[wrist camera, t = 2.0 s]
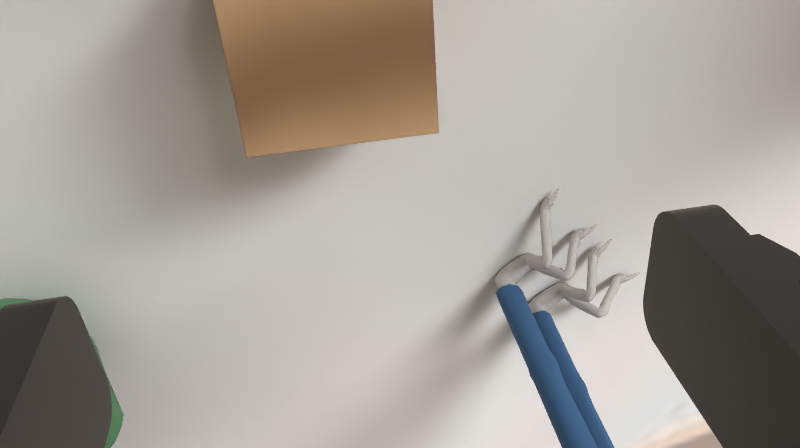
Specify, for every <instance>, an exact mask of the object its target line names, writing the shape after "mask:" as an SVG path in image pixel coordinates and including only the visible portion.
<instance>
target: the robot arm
mask: <svg viewBox="0 0 800 448" xmlns="http://www.w3.org/2000/svg"><path fill="white" fill-rule="evenodd" d="M643 309H644V317H645V321H646V325H647V328H648V331H649V334H650V336H651V338H652V340H653V342H654V343H655V345H656V346H657V348H658V349H659V351H660V353H661V354H662V356H663V357H664V359H665V360H666V362H667V363H668V365H669V366H670V368H671V369H672V371H673V372H674V374H675V375H676V377H677V378H678V380H679V381H680V383H681V384H682V386H683V387H684V389H685V390H686V392H687V393H688V395H689V397H690V398H691V400H692V401H693V403H694V404H695V406H696V407H697V409H698V410H699V412H700V413H701V415H702V416H703V418H704V419H705V421H706V422H707V424H708V425H709V427H710V428H711V430H712V431H713V433H714V434H715V436H716V437H717V439H718V441H719V442H720V443H721V445H722V447H723V448H800V256H799V255H798V254H797V253H795V252H793V251H791V250H789V249H787V248H785V247H783V246H781V245H779V244H777V243H775V242H774V241H772V240H770V239H768V238H766V237H764V236H762V235H760V234H756V235H750V234H749V233H748V232H747V231H746V230H745V229H744V228H743V227H742V226H741V225H740V224H739V223H738V222H736V221H735V220H734V219H733V218H732V217H731V216H730V215H729V214H728V213H727V212H726V211H725V210H724V209H723V208H722V207H720V206H718V205H708V206H701V207H694V208H687V209H680V210H673V211H666V212H662V213H660V214H659V215H658V216H657V218H656V220H655V223H654V228H653V234H652V241H651V248H650V255H649V262H648V269H647V276H646V283H645V290H644V298H643ZM111 417H112V401H111V392H110V387H109V383H108V380H107V377H106V375H105V372H104V370H103V367H102V365H101V363H100V360H99V358H98V355H97V353H96V351H95V348H94V346H93V343H92V341H91V339H90V336H89V334H88V331H87V329H86V327H85V324H84V322H83V319H82V317H81V315H80V312H79V310H78V308H77V306H76V304H75V303H74V301H73V300H72V299H71V298H69V297H67V296H64V297H57V298H50V299H43V300H36V301H29V302H22V303H15V304H8V305H5V306H4V307H3V308H2V309H1V310H0V448H105V444H106V440H107V436H108V433H109V429H110V424H111Z"/></svg>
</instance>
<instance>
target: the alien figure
mask: <svg viewBox="0 0 800 448" xmlns="http://www.w3.org/2000/svg"><path fill="white" fill-rule="evenodd" d="M558 191H559V188H558V189H557V190H556V192H555V193H554V194H553V196H552V197H551V198H550V199H547V198H546V199H545V200H544V201H543V202H542V204H541V206H540V225H541V240H542V253H543V257H542V256H535V255H533V254H531V253H525V254H523V255H521V256H520V257H518V258H516V259H515V260H513V261H512V262H510V263H509V264H507V265H506V266H504V267H503V268H502V269H501V270H500V271H499V273H498V274H497V275H496V277H495V278H494V281H495V283H496V285H497V287H498V291H497V292H496V295H497V297H498V300H499V303H500V305H501V307H502V309H503V312H504V314H505V316H506V319H507V321H508V323H509V325H510V328H511V330H512V332H513V335H514V337H515V339H516V341H517V344H518V346H519V348H520V351H521V353H522V355H523V358H524V360H525V362H526V365H527V367H528V369H529V373H530V376H531V378H532V379H533V381H534V383H535V386H536V388H537V390H538V393H539V395H540V397H541V400H542V402H543V404H544V407H545V409H546V411H547V414H548V416H549V418H550V421H551V423H552V425H553V428H554V430H555V432H556V435H557V437H558V439H559V442H560V444H561V446H562V448H614V446H613V444H612V442H611V440H610V438H609V436H608V434H607V432H606V430H605V428H604V426H603V424H602V422H601V420H600V418H599V416H598V414H597V412H596V410H595V408H594V406H593V403H592V401H591V399H590V396H589V394H588V391H587V388H586V385H585V383H584V381H583V380H582V379H581V377H580V375H579V373H578V372H577V370H576V368H575V366H574V364H573V362H572V360H571V357H570V355H569V353H568V351H567V349H566V347H565V345H564V343H563V340H562V338H561V336H560V334H559V332H558V330H557V328H556V326H555V324H554V322H553V319H552V317H551V315H550V314H549V313H548V312H547V311H548V310H549V309H550V308H551V307H553V306H554V305H555V304H556V303H558V302H559V301H560V300H561V299H563V298H565V299H566V300H567V301H569V302H570V303H571V304H572V305H573V306H575V307H577V308H579V309H581V310H583V311H584V312H586V313H588V314H591V315H593V316H595V317H597V318H600V317H603V316H605V315H606V314H608V311H609V307H610V303H611V301H612V299H613V297H614V296H615V294H616V292H617V290H618V289H619V286H620V284H621V283H623V282H626V281H628V280H630V279H632V278H633V277H635V276H637V275H638V274H640V272H639V273H636V274H634V275H631V276H628V277H627V276H626V275H625V274H623V273H620V274H617V275H616V276H614V277H613V279H612V281H611V284H610V286H609V288H608V290H607V292H606V294H605V296H604V298H603V300H602V302H601V304H600V307H599V309H598V308H597V307H595V306H594V305H592V304H589V303H587V302H590V301H591V300H592V299H593V298H594V296H595V294H596V273H597V263H598V257H599V256H600V255H601V253H602V252H603V251H604V250H605V249H606V247H607V246H608V244H609V243H610V241H611V240H612V239H610V240H609V241H608V242H607V243H605V244H604V245H603V246H602V247H601V248H599V247H595V248H593V249H592V250H591V252H590V253H589V254H588V275H587V290H586V291H585V290H583V289H577V288H574V287H571V286H569V285H568V284H566V283H563V282H559V283H557V284H555V285H553V286H551V287H549V288H547V289H546V290H544V291H543V292H541V293H540V294H539V295H537V296H536V297H535V298H533V299H532V301H531V302H530V303H529V305H528V303H527V300H526V298H525V296H524V294H523V292H522V290H521V289H520V288H519V286H516V284H517V283H518V282H519V281H520V280H521V279H522V278H523V277H524V276H525V275H526V274H527V273H528V272H529V271H531V270H536V271H539V272H541V273H543V274H546V275H549V276H552V277H555V278H558V279H561V280H565V281H566V280H569V279H570V278H572V277H573V275H574V274H575V268H576V253H577V248H578V246H579V241H580V240H581V239H582V238H583V237H585V236H586V235H587V234H589V233H590V232H591V231H592V230H593V229H594V228H595V227H596V226H597V224H596V225H594V226H593V227H591V228H590V229H588V230H587V231H583V230H580V229H578V230H576V231H575V232H574V233H573V234H572V235H570V246H569V250H568V256H567V265H566V270H565V271H563V269H562V268H557V267H554V266H551V262H552V237H551V226H550V208H551V206H552V204H553V202H554V200H555V198H556V196H557V193H558Z"/></svg>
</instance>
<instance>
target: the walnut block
mask: <svg viewBox="0 0 800 448" xmlns="http://www.w3.org/2000/svg"><path fill="white" fill-rule="evenodd" d="M213 3H214V7H215V12H216V17H217V21H218V26H219V31H220V35H221V40H222V45H223V49H224V54H225V59H226V63H227V68H228V72H229V77H230V82H231V86H232V91H233V96H234V100H235V105H236V110H237V114H238V119H239V124H240V128H241V133H242V138H243V142H244V147H245V152H246V156H247V157H254V156H262V155H270V154H277V153H285V152H293V151H301V150H309V149H317V148H324V147H332V146H340V145H348V144H356V143H364V142H371V141H379V140H387V139H395V138H403V137H410V136H418V135H426V134H434V133H439V127H438V105H437V84H436V63H435V41H434V20H433V0H213Z"/></svg>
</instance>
